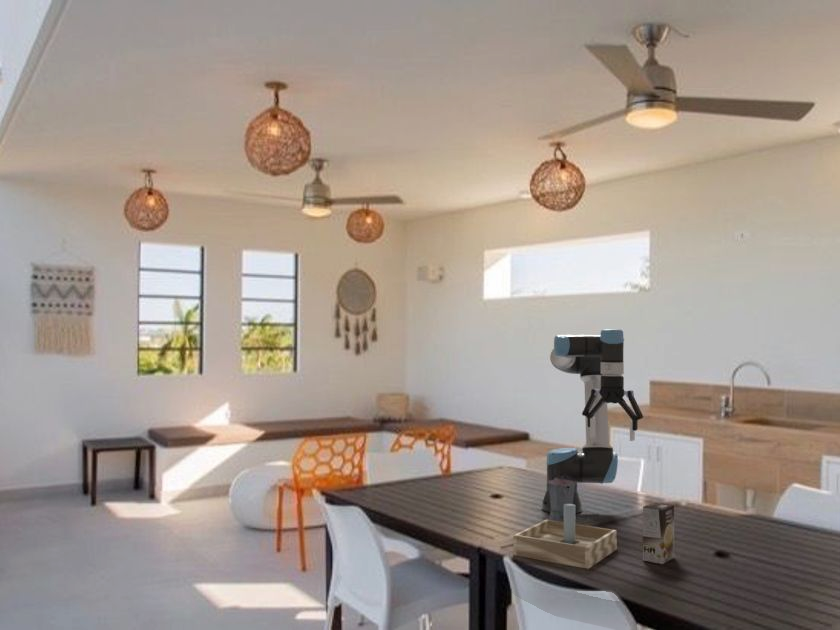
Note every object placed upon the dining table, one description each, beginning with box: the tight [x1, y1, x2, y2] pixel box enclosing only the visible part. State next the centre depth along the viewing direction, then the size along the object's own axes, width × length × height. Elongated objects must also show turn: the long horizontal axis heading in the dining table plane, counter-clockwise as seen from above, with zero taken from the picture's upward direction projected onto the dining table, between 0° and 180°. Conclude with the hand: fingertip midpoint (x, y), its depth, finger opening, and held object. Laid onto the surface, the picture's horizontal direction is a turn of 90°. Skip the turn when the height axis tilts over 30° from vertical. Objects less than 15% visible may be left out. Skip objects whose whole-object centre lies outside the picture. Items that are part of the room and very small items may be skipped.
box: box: [512, 519, 618, 570], centre depth 235 cm, size 24×24×6 cm
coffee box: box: [642, 502, 675, 565], centre depth 228 cm, size 9×6×16 cm
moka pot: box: [548, 474, 575, 522], centre depth 259 cm, size 10×15×20 cm, turn 15°
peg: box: [564, 504, 576, 544], centre depth 237 cm, size 4×4×14 cm
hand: (612, 438), depth 253 cm, fingers open, 13 cm apart
